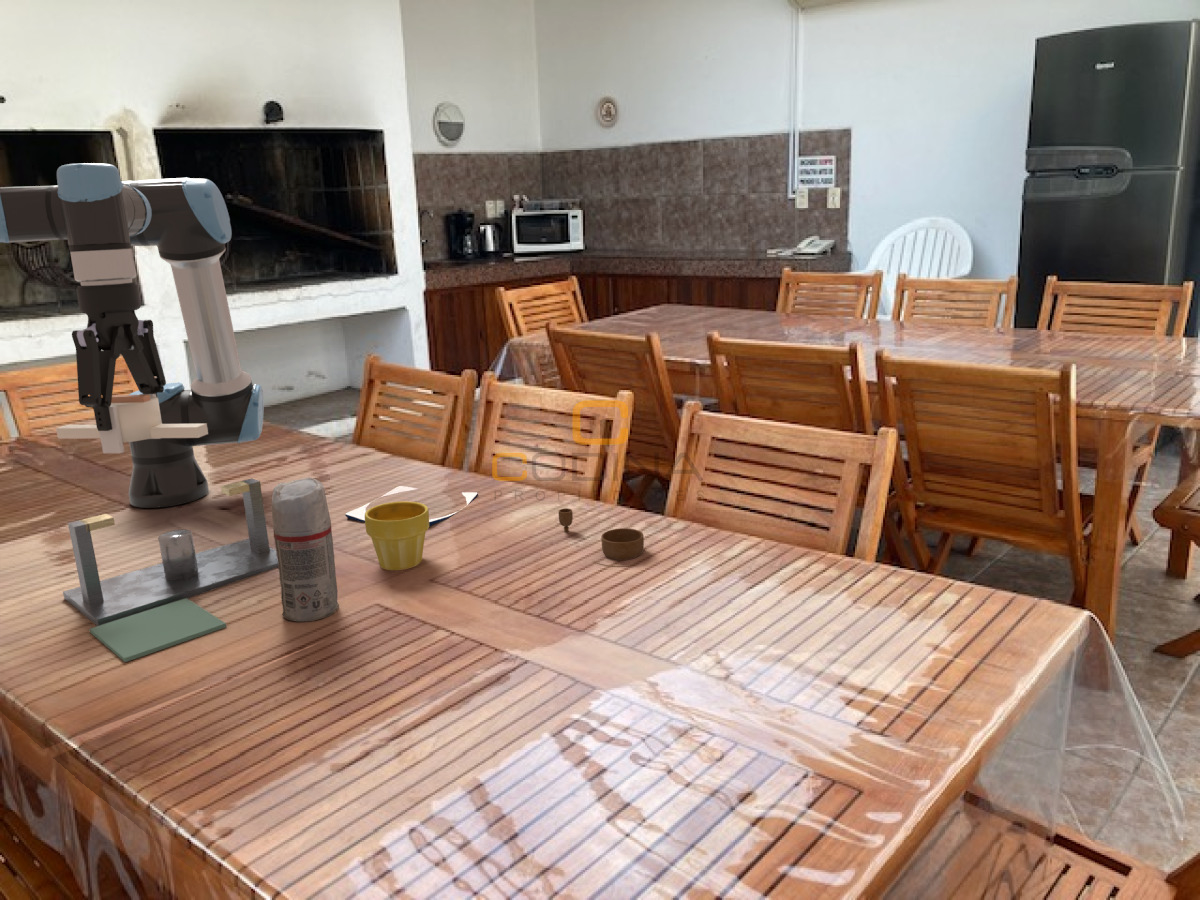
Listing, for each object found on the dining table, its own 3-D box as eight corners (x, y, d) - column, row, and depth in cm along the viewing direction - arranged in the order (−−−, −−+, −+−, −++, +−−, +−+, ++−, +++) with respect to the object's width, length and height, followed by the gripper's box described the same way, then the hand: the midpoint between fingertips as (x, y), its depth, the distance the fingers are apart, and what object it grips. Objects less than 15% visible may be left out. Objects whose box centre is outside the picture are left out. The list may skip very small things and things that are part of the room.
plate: (338, 528, 177) (336, 515, 176) (399, 496, 195) (398, 484, 194) (431, 538, 169) (429, 524, 169) (485, 504, 187) (484, 491, 187)
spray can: (353, 603, 142) (337, 476, 137) (320, 626, 134) (303, 493, 129) (306, 597, 145) (289, 473, 139) (271, 620, 137) (252, 489, 132)
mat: (187, 601, 145) (186, 597, 145) (226, 627, 135) (225, 623, 135) (90, 632, 136) (89, 628, 135) (125, 662, 126) (124, 658, 126)
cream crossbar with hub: (219, 429, 134) (213, 389, 133) (186, 442, 127) (179, 400, 125) (83, 430, 138) (76, 391, 137) (43, 443, 131) (35, 402, 129)
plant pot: (445, 558, 158) (440, 503, 156) (409, 581, 149) (403, 523, 147) (395, 551, 162) (390, 498, 160) (357, 573, 153) (350, 517, 151)
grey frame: (251, 544, 169) (240, 470, 166) (294, 564, 158) (283, 486, 155) (64, 598, 148) (47, 516, 145) (98, 627, 137) (81, 538, 134)
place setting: (577, 583, 147) (575, 548, 146) (554, 540, 166) (552, 509, 165) (683, 569, 151) (683, 535, 150) (649, 529, 170) (648, 498, 168)
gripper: (131, 278, 138) (155, 429, 143) (24, 289, 118) (57, 464, 123) (177, 276, 137) (200, 428, 142) (77, 287, 117) (108, 464, 122)
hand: (133, 445), depth 133 cm, fingers closed on cream crossbar with hub, 8 cm apart
